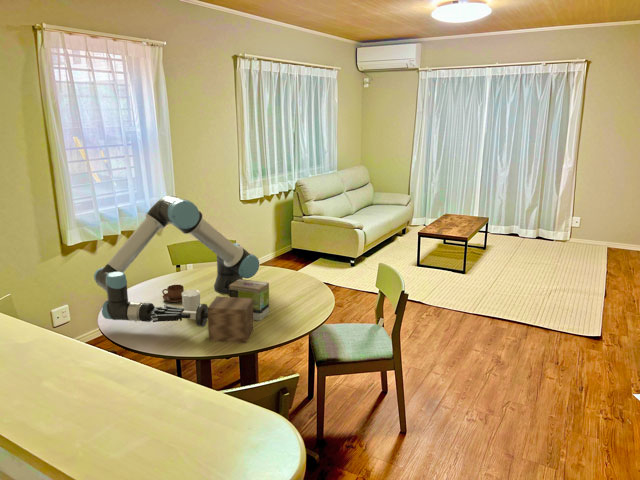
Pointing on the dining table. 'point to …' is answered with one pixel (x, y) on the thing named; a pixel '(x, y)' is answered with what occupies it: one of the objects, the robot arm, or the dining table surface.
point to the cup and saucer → (173, 293)
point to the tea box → (252, 295)
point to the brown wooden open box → (230, 319)
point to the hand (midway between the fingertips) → (198, 315)
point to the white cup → (191, 300)
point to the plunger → (201, 315)
